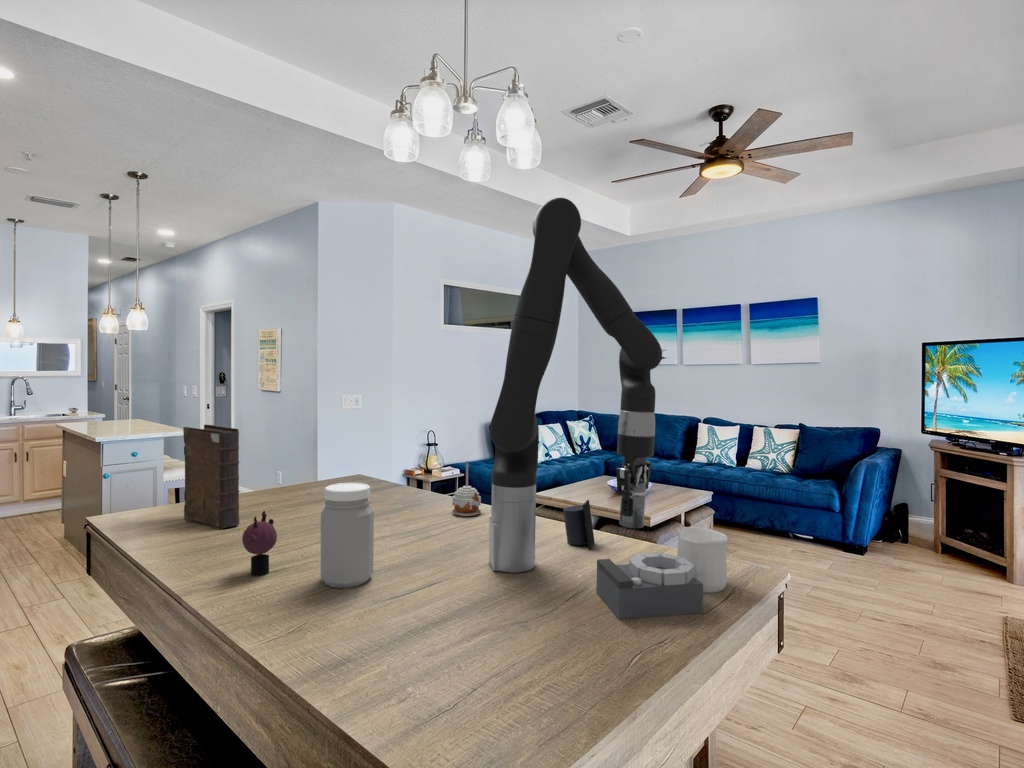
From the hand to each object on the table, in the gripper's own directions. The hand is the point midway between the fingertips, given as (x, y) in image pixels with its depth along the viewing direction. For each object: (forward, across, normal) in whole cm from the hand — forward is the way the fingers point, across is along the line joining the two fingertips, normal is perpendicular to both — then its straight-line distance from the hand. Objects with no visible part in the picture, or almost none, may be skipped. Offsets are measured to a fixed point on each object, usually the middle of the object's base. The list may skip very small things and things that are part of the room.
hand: (632, 512), depth 119 cm
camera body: (+11, -16, -10) cm, 22 cm away
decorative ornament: (+13, +13, +53) cm, 56 cm away
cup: (+11, -2, -15) cm, 19 cm away
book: (+15, -34, +100) cm, 107 cm away
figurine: (+14, -47, +58) cm, 76 cm away
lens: (+2, 0, 0) cm, 2 cm away
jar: (+13, -40, +41) cm, 59 cm away
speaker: (+12, +7, +15) cm, 20 cm away
